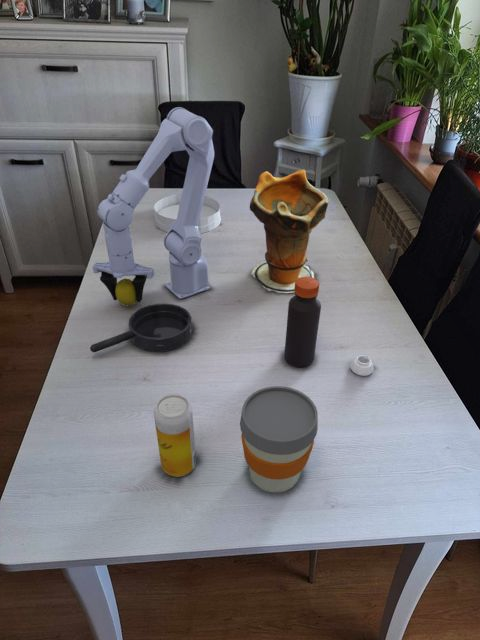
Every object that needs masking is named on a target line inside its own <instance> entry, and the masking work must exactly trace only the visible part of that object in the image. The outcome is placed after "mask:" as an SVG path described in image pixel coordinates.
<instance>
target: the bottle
mask: <svg viewBox="0 0 480 640" xmlns="http://www.w3.org/2000/svg"><path fill="white" fill-rule="evenodd" d="M319 292H320V282H319V280H318V279H316V278H315V277H314V278H312V277H301V278H298V279H297V280H296V281H295V292H294V295H293V296H292V297H291V298H290V299H289V301H288V308H287V319H286V328H285V329H286V330H285V340H284V341H285V342H284V343H285V344H284V355H283V356H284V360H285V362H286V364H287V365H288V364H289V365H290V366H292V367H295V368H307V367H308V366H310V365H312V364H313V362H314V360H315V356H316V355H315V354H316V348H317V341H318V332H319V324H320V317H321V311H322V303H321V300H320V299H319V298H318V296H319Z"/></svg>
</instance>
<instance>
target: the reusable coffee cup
mask: <svg viewBox="0 0 480 640" xmlns="http://www.w3.org/2000/svg"><path fill="white" fill-rule="evenodd" d="M318 412H319V411H318V410H317V406H316V405H315V403H314V401H313V400H312V399H311V398H310V397H309V396H307V394H305V393H304V392H302V391H301V390H298V389H295V388H292V387H288V386H283V385H282V386H279V385H273V386H266V387H263V388H260V389H258V390H256V391H254V392H253V393H251V394H250V395H249V396H248V397H247V398H246V399H245V400H244V403H243V405H242V409H241V413H240V421H239V427H240V428H239V429H240V431H241V432H240V433H241V435H240V436H241V444H242V450H243V456H244V459H245V462H246V464H247V465H248V471H249V476H250V479H251V481H252V483H254V485H256V487H258V488H259V489H261V490H263V491H265V492H269V493H276V494H277V493H284V492H286V491H289V490H290V489H292V488H293V487H294V486H295V485H296V484H297V483H298V482H299V479H300V476H301V473H302V471H303V470H304V469H305V468H306V466H307V464H308V462H309V459H310V456H311V453H312V450H313V448H314V443H315V439H316V437H317V434H318V429H319V428H318V427H319V424H318V423H319V422H318V421H319V420H318V419H319V417H318Z"/></svg>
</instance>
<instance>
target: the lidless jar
mask: <svg viewBox="0 0 480 640" xmlns="http://www.w3.org/2000/svg"><path fill="white" fill-rule="evenodd" d="M349 368H350V370H351V371H352V372H353V373H354V374H356V375H357V376H360V377H361V376H370V375H372V374H373V373H374V370H375V369H374V365H373V361H372V360H371V358H370V357H369V356H368V355H365V354H360V355H358V356H356V358H355V359H353V361H352V362H351V363H350V367H349Z"/></svg>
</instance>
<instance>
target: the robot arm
mask: <svg viewBox="0 0 480 640" xmlns="http://www.w3.org/2000/svg"><path fill="white" fill-rule="evenodd" d="M158 129H159V130H158V132H157V135H156V136H155V137H154V139H153V140H152V142H151V143H150V145H149V147H148V149H147V150H146V152H145V153H144V156H143V157H142V158H141V160H140V162H139V163H138V165H137V166H136V168H135V169H131V170H127V171H126V172H125V174H124V173H122V174H121V175H120V176H119V180H120V181H119V182H118V184H117V185H116V186H115V188H114V190H113V191H112V192H111V193H109V194H108V195H107V198H105V199H103V200H101V201H100V203H99V205H98V207H97V209H98V210H96V214H97V217H98V218H99V220H101V221H102V227H103V232H104V233H103V234H104V239H105V243H106V250H107V255H108V261H105V262H98V261H97V262H94V264H93V265H92V266H91V267H92V271H93V274H99V273H100V277H99V281H100V282H101V283H102V284H103V285H104V286H105V287H106V289H107V290H108V291H109V293H110V295H111V297H112V299H113V300H114V301H118V300H117V297H116V293H115V289H116V285H117V283H118V279H123V277H130V276H133V279H132V284H133V286H134V289H135V292H136V300H137V301H136V303H139V304H140V303H141V302H142V300H143V293H144V288H145V284H146V281H147V280H148V279H150V280H152V279H153V278H154V276H155V272H154V268H153V267H149V266H145V265H142V264H139V263H136V262H135V257H134V250H133V244H132V235H131V230H130V226H131V224H132V223H133V213H134V212H135V209H136V207H138V205H139V203H140V202H141V201H142V200H143V198H145V197H144V196H146V193H148V192H149V190H150V179H151V178H152V176H154V174H155V173H156V172H157V170H158V169H159V168H160V167H161V166H162V164H163V163H164V162H165V161H166V159H168V157H169V156H170V155H171V153H175V152H181V151H186V152H187V154H188V156H189V159H188V163H187V168H186V173H185V178H184V183H183V187H182V192H181V194H182V196H181V201H180V205H179V210H178V215H177V220H176V221H175V222H173V223H172V224H171V225H170V229H169V231H168V232H166V234H165V236H164V238H163V247H164V249H166V250H167V251H168V255H169V256H168V262H169V273H170V281H171V282H170V283H166V284H165V287H166V289H168V290H169V291H170V292H171V293H172V294H173V295H174V296H176V297H177V298H178V299H179V300H183V299H185V298H189V297H191V296H194V295H197V294H199V293H202V292H205V291H207V290H210V289H211V287H210V286H209V268H208V263H207V260H206V259H205V256H203V254H202V247H201V245H202V235H201V234H200V232H199V229H198V224H199V219H200V215H201V211H202V206H203V202H204V198H205V196H206V193H207V189H208V183H209V180H210V176H211V172H212V168H213V164H214V160H215V148H214V143H213V142H214V141H213V134H214V129H213V128H212V127H211V125H210V124H209V123H208V121H207V120H206V119H205V118H204V117H203V116H200V115H197V114H195V113H193V112H190V111H189V110H188V109H186V108H184V107H181V106H178V107H174V108H172V109H170V111H169V112H168V114H167V115H166V118H164V119H163V120H162V122H161V123H160V126H159V128H158Z"/></svg>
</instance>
